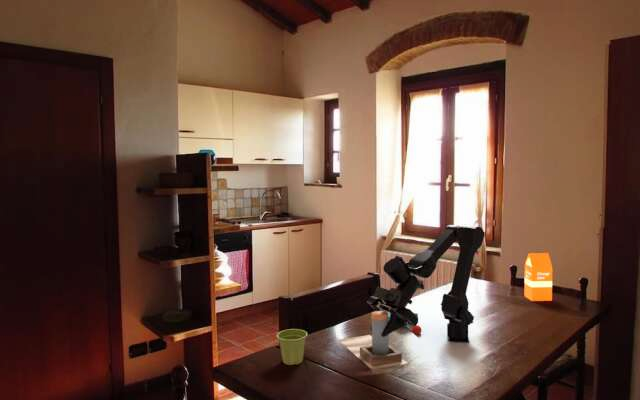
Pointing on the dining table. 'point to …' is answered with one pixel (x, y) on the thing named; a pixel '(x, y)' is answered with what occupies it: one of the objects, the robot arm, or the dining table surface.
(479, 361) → the dining table surface
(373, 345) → the orange-capped blue cylinder
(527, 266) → the orange juice
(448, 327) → the robot arm
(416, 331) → the lever
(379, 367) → the jig
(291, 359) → the plant pot
